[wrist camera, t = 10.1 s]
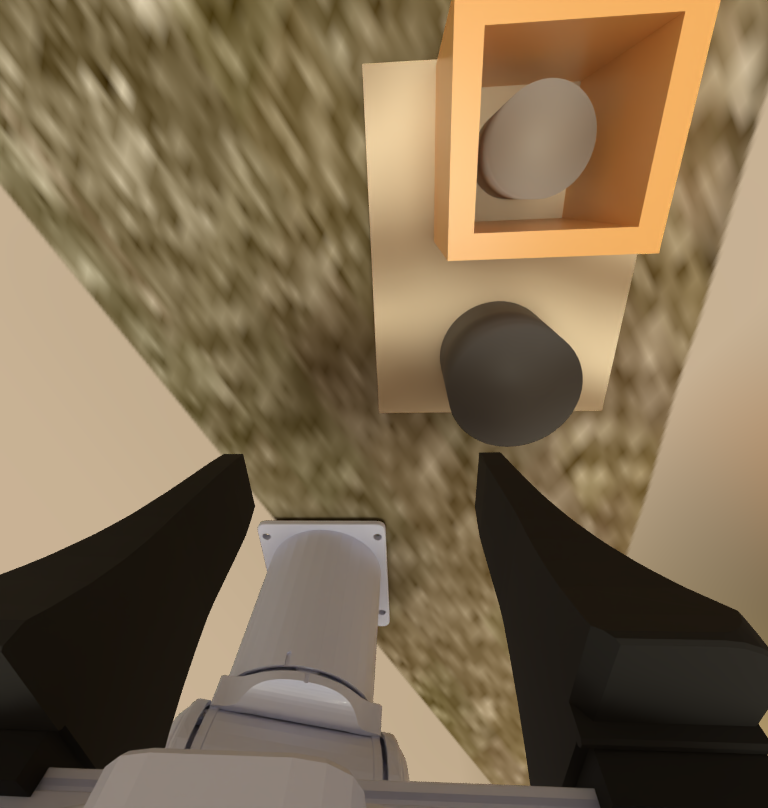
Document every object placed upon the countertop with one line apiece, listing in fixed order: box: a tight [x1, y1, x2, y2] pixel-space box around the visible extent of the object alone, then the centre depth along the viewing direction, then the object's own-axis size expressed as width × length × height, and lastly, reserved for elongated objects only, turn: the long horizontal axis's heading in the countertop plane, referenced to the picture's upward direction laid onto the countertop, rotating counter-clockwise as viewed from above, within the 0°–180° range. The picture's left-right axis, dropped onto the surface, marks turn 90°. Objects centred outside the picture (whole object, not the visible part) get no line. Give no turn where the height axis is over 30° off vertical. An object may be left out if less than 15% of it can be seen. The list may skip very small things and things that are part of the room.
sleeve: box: [434, 0, 720, 261], centre depth 13 cm, size 6×6×6 cm
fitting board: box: [362, 60, 637, 447], centre depth 16 cm, size 14×11×5 cm
